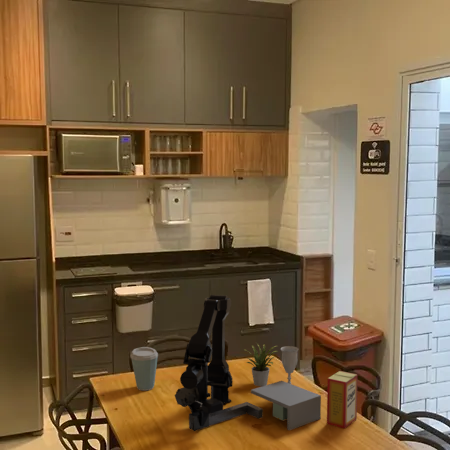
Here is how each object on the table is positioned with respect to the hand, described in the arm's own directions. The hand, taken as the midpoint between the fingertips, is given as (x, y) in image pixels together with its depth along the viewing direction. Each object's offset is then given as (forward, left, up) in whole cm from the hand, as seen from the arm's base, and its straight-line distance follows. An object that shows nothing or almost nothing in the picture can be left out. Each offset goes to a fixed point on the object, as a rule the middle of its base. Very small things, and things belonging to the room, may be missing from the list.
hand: (199, 424), depth 204 cm
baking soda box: (+26, +41, -1) cm, 48 cm away
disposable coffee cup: (-43, +6, -1) cm, 43 cm away
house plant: (-17, +45, -1) cm, 47 cm away
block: (+11, +28, -1) cm, 30 cm away
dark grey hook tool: (+3, +9, -1) cm, 10 cm away
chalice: (-2, +44, -1) cm, 44 cm away
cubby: (+11, +29, -1) cm, 31 cm away
